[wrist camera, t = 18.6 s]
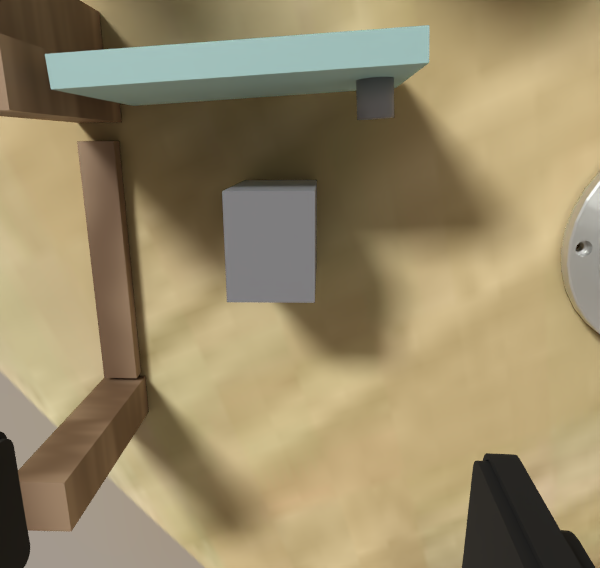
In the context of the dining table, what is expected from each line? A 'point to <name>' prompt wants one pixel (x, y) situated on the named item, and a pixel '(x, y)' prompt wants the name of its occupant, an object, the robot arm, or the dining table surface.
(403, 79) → the door
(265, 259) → the block
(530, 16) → the dining table surface
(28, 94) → the door frame
